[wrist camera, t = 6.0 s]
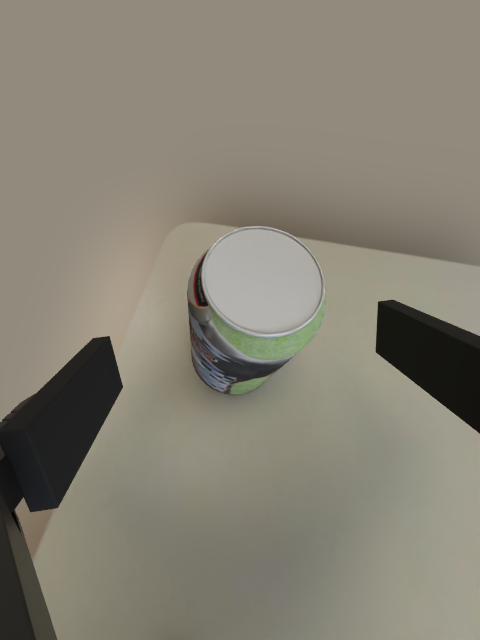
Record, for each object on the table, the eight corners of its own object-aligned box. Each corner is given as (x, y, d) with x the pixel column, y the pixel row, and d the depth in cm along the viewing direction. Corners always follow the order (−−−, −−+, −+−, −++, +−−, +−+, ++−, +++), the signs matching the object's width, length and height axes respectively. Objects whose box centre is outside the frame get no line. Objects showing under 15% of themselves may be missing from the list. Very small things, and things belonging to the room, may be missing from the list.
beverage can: (211, 312, 24) (186, 186, 13) (299, 338, 23) (351, 224, 12) (180, 385, 21) (118, 303, 11) (279, 418, 20) (322, 364, 10)
